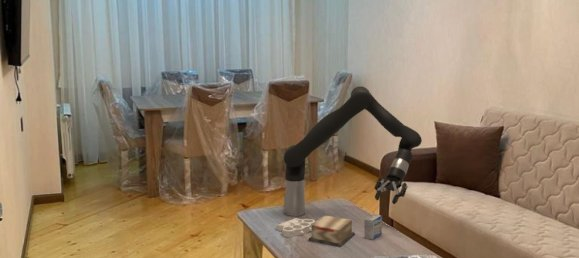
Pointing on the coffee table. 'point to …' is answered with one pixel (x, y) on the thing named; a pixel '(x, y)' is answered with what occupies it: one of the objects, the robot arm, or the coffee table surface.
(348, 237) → the stand
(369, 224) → the medicine box
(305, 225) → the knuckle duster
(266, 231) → the coffee table surface
